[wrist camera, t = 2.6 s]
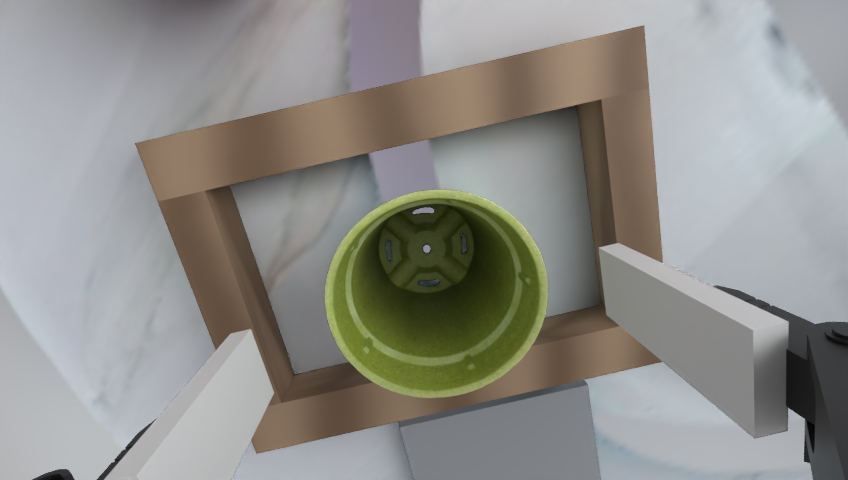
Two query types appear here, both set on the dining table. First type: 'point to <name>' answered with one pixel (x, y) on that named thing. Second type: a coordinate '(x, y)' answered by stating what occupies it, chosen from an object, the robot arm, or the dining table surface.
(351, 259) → the plant pot
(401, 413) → the open rectangular wooden frame
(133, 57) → the dining table surface
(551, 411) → the slate coaster
